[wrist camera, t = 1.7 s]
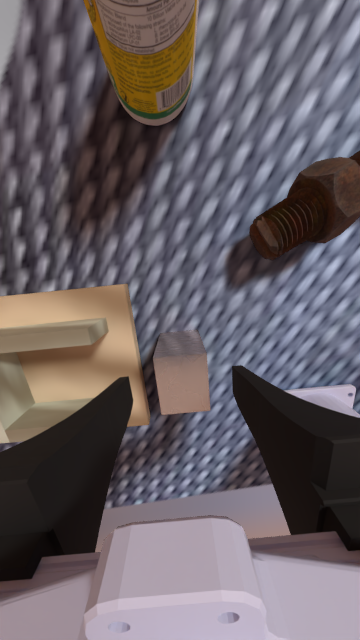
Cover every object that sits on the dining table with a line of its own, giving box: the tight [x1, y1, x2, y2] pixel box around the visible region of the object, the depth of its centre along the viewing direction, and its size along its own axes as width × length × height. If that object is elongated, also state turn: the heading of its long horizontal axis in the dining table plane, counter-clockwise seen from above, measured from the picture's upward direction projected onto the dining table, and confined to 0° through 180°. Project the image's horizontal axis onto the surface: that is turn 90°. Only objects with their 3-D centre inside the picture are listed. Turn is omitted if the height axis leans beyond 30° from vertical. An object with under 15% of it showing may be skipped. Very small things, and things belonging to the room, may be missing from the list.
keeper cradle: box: [0, 284, 150, 443], centre depth 15 cm, size 14×12×4 cm
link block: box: [153, 330, 210, 415], centre depth 14 cm, size 4×4×5 cm
